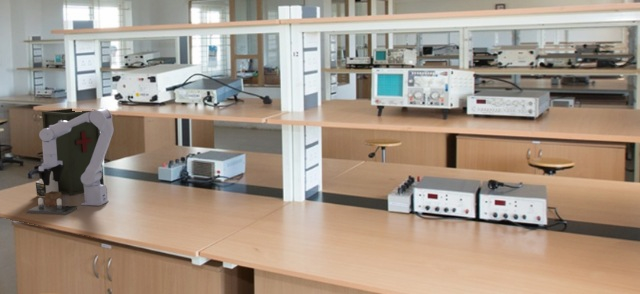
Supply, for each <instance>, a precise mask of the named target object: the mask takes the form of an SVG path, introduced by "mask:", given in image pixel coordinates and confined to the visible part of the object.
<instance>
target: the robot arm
mask: <svg viewBox="0 0 640 294" xmlns="http://www.w3.org/2000/svg"><path fill="white" fill-rule="evenodd" d="M93 110H94V111H91V112H87V113H84V114H82V115H80V116H78V117H76V118H74V119H72V120H70V121H66V120H63V121H62V120H60V121H58V123H57V124H54V125H50V126H49V128H44V129H41V130H40V131H39V134H38V135H39V136H38V137H39V139H40V140H41V143H42V144H41V145H42V158H43V162H42V163H41V165H39V166H38V170H37V174H39V175H40V176H41V178H42V180H43V183H44V185H47V186H48V185H49V184H50V174H51V171H48V170H47V169H49V168H51V169H52V171H53V175H54V181H56V182H59V181H60V177H61V173H62V170H63V168H64V166H61V165H63V164H62V161H57V147H56V138H57V137H59V136H62V135H64V134H66V133H68V132H70V131H71V129H72V127H74V126H76V125H79V124H81V123H84V122H92V123H93V124H94V125H95V126H96V127H98V129H99V130H100V136H99V138H98V141H97V144H96V147H95V150H94V153H93V155H92V158H91V161H90V164H89V165H88V167H87V168H86V170H85V172H84V173H83V174H82V175H81V182H82V183H83V184H84V193H83V194H84V202H82V203H80V205H81V206H96V207H97V206H98V207H99V206H102V205H104V204H106V203H108V202H109V198H108V197H109V196H108V189H107V186H106V185H105V184H104V185H102V184H100V179H101V177H102V166H103V162H104V161H105V160H104V159H105V156H106V154H107V152H108V149H109V147H110V143H111V140H112V137H113V135H114V131H115V129H114V124H113V115H112V113H111V111H110V110H109V109H108V108H106V107H105V108H104V107H102V108H100V109H93ZM39 175H38V176H39Z"/></svg>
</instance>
